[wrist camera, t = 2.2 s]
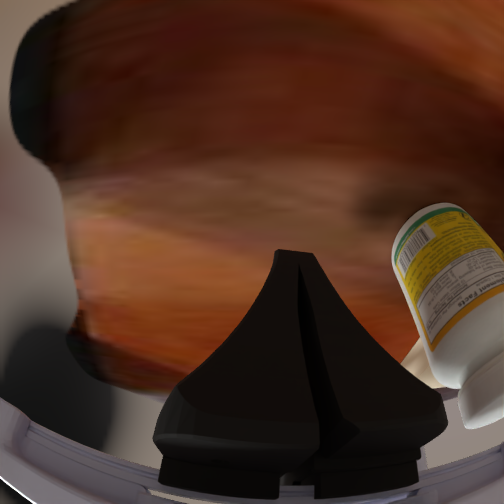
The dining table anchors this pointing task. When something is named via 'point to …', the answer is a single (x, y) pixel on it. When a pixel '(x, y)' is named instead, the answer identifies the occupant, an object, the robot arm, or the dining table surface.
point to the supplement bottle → (456, 305)
